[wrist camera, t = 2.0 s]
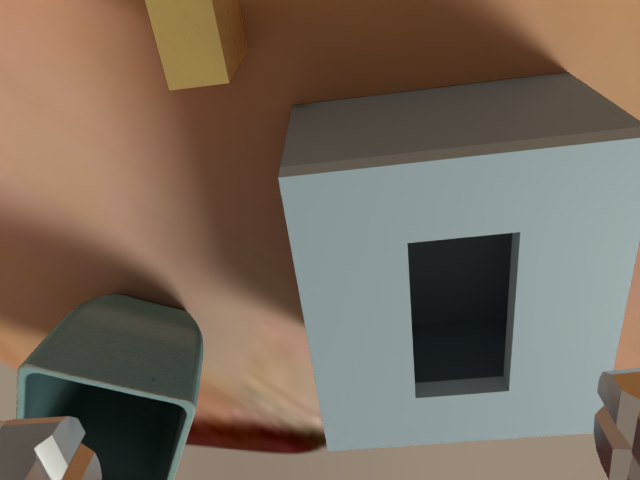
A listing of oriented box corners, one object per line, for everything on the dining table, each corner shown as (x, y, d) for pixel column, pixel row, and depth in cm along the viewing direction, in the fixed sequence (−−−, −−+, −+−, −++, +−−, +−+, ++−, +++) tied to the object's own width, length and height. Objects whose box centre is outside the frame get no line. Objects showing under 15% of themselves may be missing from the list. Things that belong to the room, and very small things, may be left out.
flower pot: (199, 389, 39) (167, 505, 32) (75, 359, 38) (10, 473, 30) (226, 297, 35) (197, 405, 27) (88, 260, 34) (16, 363, 26)
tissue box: (292, 105, 28) (277, 177, 21) (567, 71, 27) (660, 135, 20) (328, 337, 37) (328, 451, 29) (541, 319, 36) (600, 432, 28)
